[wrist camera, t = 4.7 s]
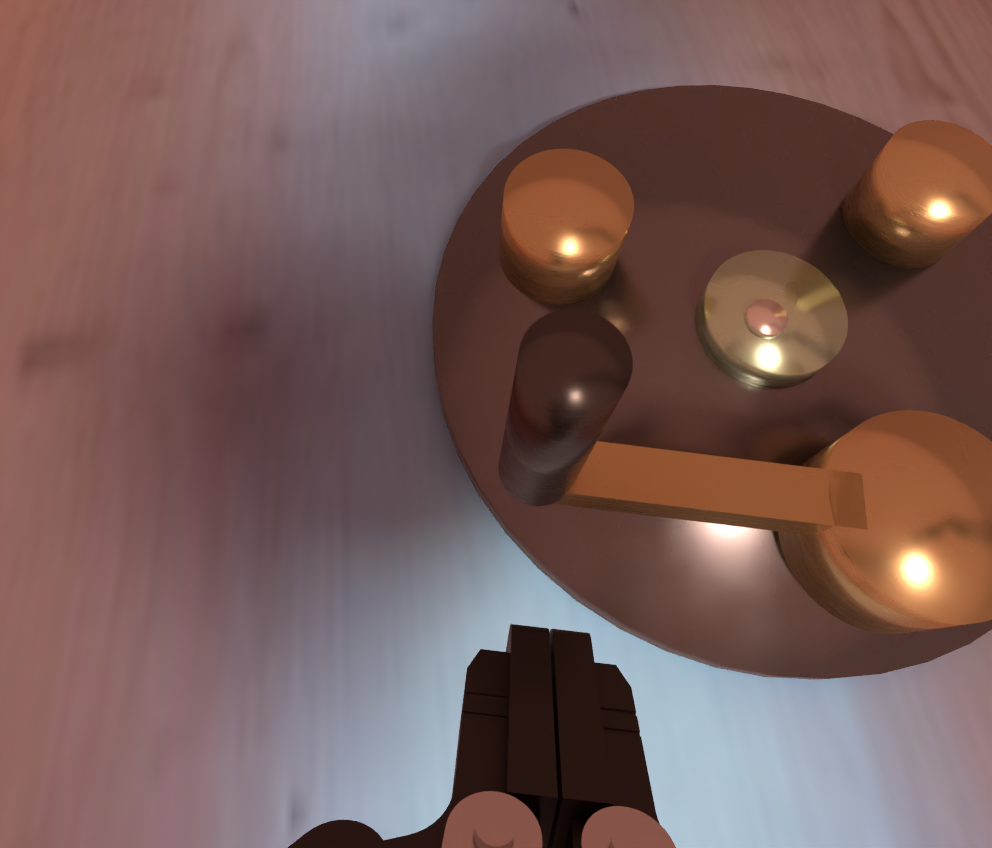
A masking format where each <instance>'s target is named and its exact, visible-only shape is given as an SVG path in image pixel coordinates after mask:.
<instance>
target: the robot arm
mask: <svg viewBox="0 0 992 848" xmlns="http://www.w3.org/2000/svg"><path fill="white" fill-rule="evenodd" d="M288 848H676V847H675V845H674V843H673V841H672V839H671V838H670V836H669V835H668V833H667V832H666V831H665V829H664V828H663V827H662V826H661V825H660V824H659V821H658V818H657V815H656V811H655V806H654V801H653V796H652V791H651V786H650V781H649V776H648V771H647V766H646V760H645V755H644V750H643V745H642V740H641V737H640V730H639V725H638V720H637V716H636V710H635V705H634V700H633V695H632V689H631V686H630V685H629V684H628V682H627V681H626V679H625V678H624V676H623V675H622V673H621V672H620V670H619V669H618V668H617V666H616V665H611V664H603V663H594V657H593V649H592V642H591V636H590V634H589V633H582V632H574V631H566V630H557V629H551V630H550V633H549V629H547V628H539V627H531V626H522V625H514V624H511V625H510V629H509V635H508V642H507V648H506V652H500V651H491V650H483V649H480V651H479V652H478V654H477V655H476V656H475V658H474V659H473V661H472V662H471V664H470V665H469V666H468V668H467V674H466V682H465V690H464V698H463V706H462V714H461V721H460V729H459V738H458V747H457V757H456V766H455V775H454V784H453V793H452V799H451V801H450V804H449V806H448V807H447V809H446V811H445V812H444V813H443V814H442V816H441V817H440V818H439V819H438V820H437V821H436V822H434V823H433V824H432V825H430V826H429V827H427V828H426V829H424V830H421V831H419V832H417V833H414V834H410V835H407V836H402V837H397V838H393V839H388V840H384V841H383V839H382V838H381V837H380V836H379V834H378V833H377V832H375V831H374V830H373V829H372V828H370V827H369V826H367V825H365V824H363V823H360V822H357V821H352V820H336V821H330V822H327V823H324V824H321V825H319V826H317V827H315V828H313V829H311V830H310V831H309V832H307V833H306V834H304V835H303V836H302V837H301V838H299V839H298V840H297V841H296V842H294V843H293V844H292V845H290V846H289V847H288Z"/></svg>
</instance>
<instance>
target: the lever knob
mask: <svg viewBox="0 0 992 848" xmlns="http://www.w3.org/2000/svg"><path fill="white" fill-rule="evenodd" d="M632 370H633V358H632V353H631V350H630V347H629V344H628V342H627V340H626V339H625V337H624V336H623V334H622V333H621V332H620V331H619V329H618V328H617V327H615V326H614V325H613V324H612V323H611V322H609V321H608V320H607V319H605V318H603V317H601V316H599V315H597V314H594V313H591V312H588V311H584V310H576V309H566V310H559V311H555V312H552V313H549V314H547V315H545V316H543V317H541V318H539V319H538V320H537V321H536V322H534V323H533V324H532V325H531V326H530V327H529V328H528V330H527V331H526V333H525V334H524V336H523V338H522V340H521V343H520V347H519V352H518V358H517V363H516V369H515V375H514V380H513V386H512V391H511V397H510V402H509V408H508V414H507V419H506V425H505V430H504V436H503V441H502V447H501V453H500V458H499V464H498V471H499V477H500V480H501V482H502V484H503V486H504V488H505V489H506V491H507V492H508V493H509V494H510V495H511V496H512V497H513V498H515V499H516V500H518V501H519V502H522V503H524V504H527V505H531V506H546V505H551V504H558V505H566V506H574V507H582V508H590V509H598V510H607V511H615V512H623V513H631V514H639V515H648V516H656V517H664V518H672V519H680V520H688V521H697V522H705V523H713V524H721V525H729V526H738V527H746V528H754V529H762V530H770V531H778V535H779V540H780V544H781V548H782V551H783V554H784V557H785V559H786V562H787V564H788V566H789V568H790V570H791V571H792V573H793V575H794V576H795V578H796V579H797V581H798V582H799V584H800V585H801V587H802V588H803V589H804V590H805V591H806V593H807V594H808V595H809V596H810V597H811V598H812V599H813V600H814V601H815V602H816V603H817V604H818V605H819V606H821V607H822V608H823V609H824V610H826V611H827V612H828V613H830V614H831V615H833V616H834V617H836V618H838V619H839V620H841V621H843V622H845V623H847V624H849V625H851V626H854V627H856V628H859V629H862V630H865V631H869V632H874V633H880V634H902V633H910V632H917V631H924V630H931V629H938V628H945V627H952V626H959V625H966V624H973V623H980V622H985V621H989V620H992V441H990V440H989V439H988V438H987V437H985V436H984V435H982V434H981V433H979V432H978V431H976V430H975V429H973V428H971V427H969V426H967V425H965V424H964V423H962V422H959V421H957V420H954V419H952V418H950V417H947V416H943V415H940V414H937V413H932V412H926V411H918V410H900V411H892V412H887V413H883V414H880V415H877V416H875V417H872V418H870V419H868V420H866V421H865V422H863V423H861V424H860V425H858V426H857V427H855V428H854V429H852V430H851V431H849V432H848V433H846V434H845V435H843V436H842V437H841V438H839V439H838V440H836V441H835V442H833V443H832V444H830V445H829V446H827V447H826V448H824V449H823V450H821V451H820V452H818V453H817V454H815V455H814V456H812V457H811V458H810V459H808V460H807V461H805V462H804V463H803V464H801V465H800V466H795V465H787V464H779V463H771V462H762V461H754V460H746V459H738V458H730V457H722V456H714V455H706V454H697V453H689V452H681V451H673V450H665V449H657V448H649V447H641V446H632V445H624V444H616V443H608V442H600V441H598V439H599V437H600V435H601V433H602V431H603V430H604V428H605V426H606V424H607V422H608V420H609V419H610V417H611V415H612V413H613V411H614V410H615V408H616V406H617V404H618V402H619V400H620V399H621V397H622V395H623V393H624V391H625V389H626V388H627V386H628V384H629V381H630V379H631V375H632Z"/></svg>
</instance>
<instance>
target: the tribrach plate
mask: <svg viewBox="0 0 992 848" xmlns="http://www.w3.org/2000/svg"><path fill="white" fill-rule="evenodd" d="M566 309H576V310H584V311H588V312H591V313H594V314H597V315H599V316H601V317H603V318H605V319H607V320H608V321H609V322H611V323H612V324H613V325H614V326H615V327H617V328H618V329H619V331H620V332H621V333H622V334H623V336H624V337H625V339H626V340H627V342H628V344H629V347H630V350H631V353H632V358H633V370H632V375H631V379H630V381H629V384H628V386H627V388H626V389H625V391H624V393H623V395H622V397H621V399H620V400H619V402H618V404H617V406H616V408H615V410H614V411H613V413H612V415H611V417H610V419H609V420H608V422H607V424H606V426H605V428H604V430H603V431H602V433H601V435H600V437H599V439H598V441H600V442H608V443H616V444H624V445H632V446H641V447H649V448H657V449H665V450H673V451H681V452H689V453H697V454H706V455H714V456H722V457H730V458H738V459H746V460H754V461H762V462H771V463H779V464H787V465H795V466H800V465H801V464H803V463H804V462H805V461H807V460H808V459H810V458H811V457H812V456H814V455H815V454H817V453H818V452H820V451H821V450H823V449H824V448H826V447H827V446H829V445H830V444H832V443H833V442H835V441H836V440H838V439H839V438H841V437H842V436H843V435H845V434H846V433H848V432H849V431H851V430H852V429H854V428H855V427H857V426H858V425H860V424H861V423H863V422H865V421H866V420H868V419H870V418H872V417H875V416H877V415H880V414H883V413H887V412H892V411H900V410H918V411H926V412H932V413H937V414H940V415H943V416H947V417H950V418H952V419H954V420H957V421H959V422H962V423H964V424H965V425H967V426H969V427H971V428H973V429H975V430H976V431H978V432H979V433H981V434H982V435H984V436H985V437H987V438H988V439H989V440H990V441H992V146H991V145H990V144H989V143H988V142H986V141H985V140H984V139H983V138H981V137H980V136H978V135H977V134H975V133H973V132H972V131H970V130H968V129H965V128H963V127H961V126H958V125H955V124H952V123H948V122H943V121H935V120H924V121H917V122H913V123H910V124H908V125H905V126H903V127H902V128H900V129H899V130H898V131H897V132H895V134H894V135H893V134H892V133H890V132H888V131H885V130H883V129H881V128H879V127H877V126H875V125H873V124H871V123H869V122H867V121H864V120H862V119H860V118H858V117H856V116H853V115H850V114H848V113H845V112H842V111H839V110H837V109H834V108H831V107H829V106H826V105H823V104H820V103H816V102H813V101H809V100H805V99H802V98H798V97H794V96H791V95H787V94H781V93H776V92H770V91H764V90H758V89H753V88H743V87H730V86H717V85H705V86H675V87H667V88H659V89H650V90H644V91H639V92H635V93H631V94H626V95H622V96H618V97H613V98H610V99H607V100H605V101H602V102H599V103H596V104H593V105H590V106H588V107H585V108H582V109H580V110H578V111H576V112H574V113H572V114H570V115H567V116H565V117H563V118H561V119H559V120H557V121H555V122H553V123H551V124H550V125H548V126H547V127H545V128H544V129H542V130H541V131H539V132H538V133H536V134H535V135H533V136H532V137H530V138H529V139H527V140H526V141H524V142H523V143H522V144H521V145H519V146H518V147H517V148H516V149H515V150H514V151H513V152H512V153H510V154H509V155H508V156H507V157H506V158H505V159H504V160H503V161H501V162H500V163H499V164H498V165H497V166H496V167H495V169H494V170H493V171H492V172H491V173H490V175H489V176H488V177H487V178H486V179H485V181H484V182H483V183H482V184H481V185H480V186H479V188H478V189H477V190H476V191H475V193H474V195H473V196H472V198H471V200H470V201H469V203H468V204H467V206H466V208H465V209H464V211H463V213H462V214H461V216H460V217H459V219H458V221H457V224H456V226H455V228H454V231H453V233H452V235H451V238H450V240H449V243H448V245H447V247H446V250H445V252H444V256H443V260H442V264H441V268H440V272H439V276H438V280H437V284H436V292H435V302H434V313H433V341H434V358H435V374H436V380H437V385H438V390H439V395H440V399H441V404H442V409H443V414H444V417H445V420H446V423H447V426H448V428H449V431H450V434H451V437H452V440H453V442H454V445H455V448H456V451H457V453H458V456H459V458H460V460H461V462H462V464H463V466H464V467H465V469H466V471H467V473H468V475H469V477H470V479H471V481H472V483H473V485H474V487H475V488H476V490H477V492H478V494H479V496H480V497H481V499H482V500H483V501H484V503H485V504H486V506H487V507H488V509H489V510H490V511H491V513H492V514H493V516H494V517H495V518H496V520H497V521H498V523H499V524H500V526H501V527H502V528H503V530H504V531H505V533H506V534H507V535H508V536H509V537H510V538H511V539H512V540H513V541H514V542H515V544H516V545H517V546H518V547H519V548H520V549H521V550H522V551H523V552H524V553H525V554H526V556H527V557H528V558H529V559H530V560H531V561H532V562H533V563H534V564H535V565H536V566H537V568H538V569H540V570H541V571H542V572H543V573H544V574H545V575H547V576H548V577H549V578H550V579H551V580H553V581H554V582H555V583H556V584H557V585H559V586H560V587H561V588H562V589H563V590H564V591H566V592H567V593H568V594H569V595H570V596H572V597H573V598H574V599H575V600H576V601H578V602H579V603H581V604H582V605H584V606H585V607H587V608H588V609H590V610H592V611H593V612H595V613H596V614H598V615H599V616H601V617H602V618H604V619H605V620H607V621H609V622H610V623H612V624H613V625H615V626H616V627H618V628H619V629H621V630H623V631H625V632H628V633H630V634H632V635H634V636H636V637H638V638H640V639H642V640H644V641H646V642H648V643H650V644H652V645H655V646H657V647H659V648H661V649H663V650H665V651H667V652H670V653H673V654H676V655H679V656H682V657H685V658H689V659H692V660H695V661H698V662H701V663H704V664H707V665H710V666H713V667H716V668H721V669H727V670H732V671H737V672H742V673H748V674H753V675H758V676H763V677H779V678H799V679H829V678H840V677H851V676H861V675H872V674H882V673H886V672H889V671H893V670H897V669H901V668H905V667H909V666H913V665H917V664H921V663H925V662H928V661H931V660H933V659H935V658H938V657H940V656H942V655H945V654H947V653H949V652H951V651H954V650H956V649H958V648H961V647H963V646H965V645H968V644H970V643H971V642H973V641H974V640H976V639H977V638H979V637H981V636H982V635H984V634H985V633H987V632H988V631H990V630H991V629H992V620H989V621H985V622H980V623H973V624H966V625H959V626H952V627H945V628H938V629H931V630H924V631H917V632H910V633H902V634H880V633H874V632H869V631H865V630H862V629H859V628H856V627H854V626H851V625H849V624H847V623H845V622H843V621H841V620H839V619H838V618H836V617H834V616H833V615H831V614H830V613H828V612H827V611H826V610H824V609H823V608H822V607H821V606H819V605H818V604H817V603H816V602H815V601H814V600H813V599H812V598H811V597H810V596H809V595H808V594H807V593H806V591H805V590H804V589H803V588H802V587H801V585H800V584H799V582H798V581H797V579H796V578H795V576H794V575H793V573H792V571H791V570H790V568H789V566H788V564H787V562H786V559H785V557H784V554H783V551H782V548H781V544H780V540H779V535H778V531H770V530H762V529H754V528H746V527H738V526H729V525H721V524H713V523H705V522H697V521H688V520H680V519H672V518H664V517H656V516H648V515H639V514H631V513H623V512H615V511H607V510H598V509H590V508H582V507H574V506H566V505H558V504H551V505H546V506H531V505H527V504H524V503H522V502H519V501H518V500H516V499H515V498H513V497H512V496H511V495H510V494H509V493H508V492H507V491H506V489H505V488H504V486H503V484H502V482H501V480H500V477H499V471H498V464H499V458H500V453H501V447H502V441H503V436H504V430H505V425H506V419H507V414H508V408H509V402H510V397H511V391H512V386H513V380H514V375H515V369H516V363H517V358H518V352H519V347H520V343H521V340H522V338H523V336H524V334H525V333H526V331H527V330H528V328H529V327H530V326H531V325H532V324H533V323H534V322H536V321H537V320H538V319H539V318H541V317H543V316H545V315H547V314H549V313H552V312H555V311H559V310H566Z"/></svg>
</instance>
